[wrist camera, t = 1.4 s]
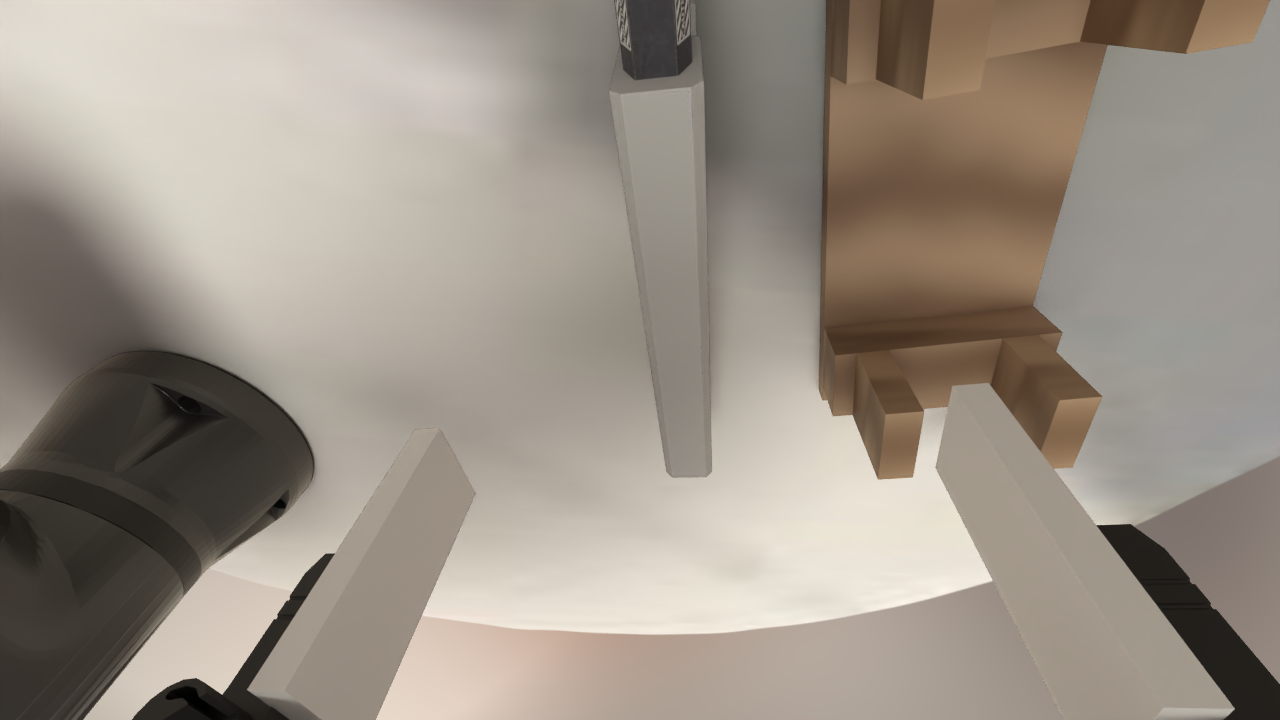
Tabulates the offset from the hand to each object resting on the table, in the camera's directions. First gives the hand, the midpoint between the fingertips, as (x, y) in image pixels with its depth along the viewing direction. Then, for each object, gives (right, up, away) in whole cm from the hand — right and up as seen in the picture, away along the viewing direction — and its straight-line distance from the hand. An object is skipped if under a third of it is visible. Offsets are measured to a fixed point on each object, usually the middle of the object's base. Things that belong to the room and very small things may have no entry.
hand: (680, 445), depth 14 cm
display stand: (+13, +10, +10) cm, 19 cm away
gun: (+1, +9, +13) cm, 15 cm away
